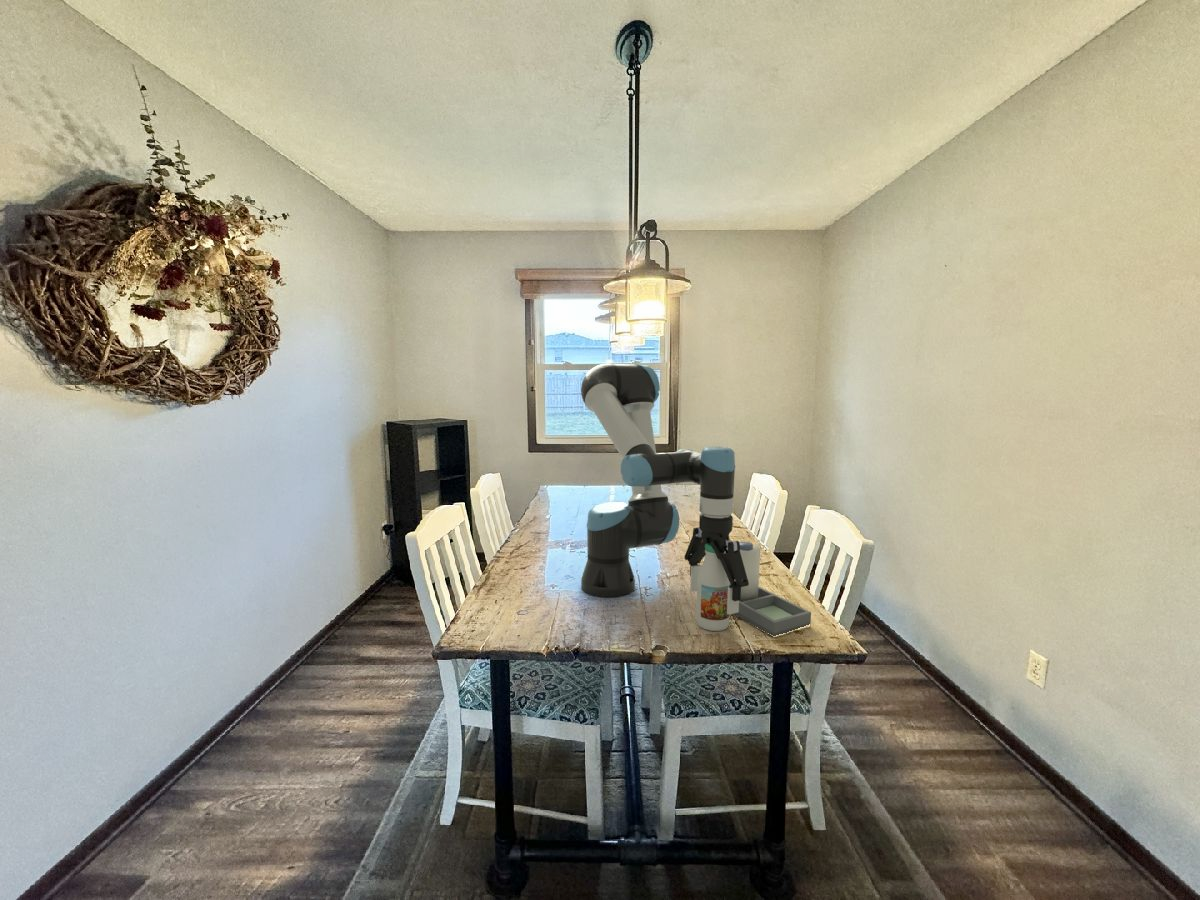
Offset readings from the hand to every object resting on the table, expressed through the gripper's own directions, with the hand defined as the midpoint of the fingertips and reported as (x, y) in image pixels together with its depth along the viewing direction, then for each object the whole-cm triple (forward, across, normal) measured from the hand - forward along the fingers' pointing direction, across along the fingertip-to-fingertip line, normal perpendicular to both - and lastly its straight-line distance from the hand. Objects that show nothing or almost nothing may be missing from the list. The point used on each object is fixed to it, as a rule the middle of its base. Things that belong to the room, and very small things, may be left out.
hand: (713, 601), depth 119 cm
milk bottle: (+6, 0, 0) cm, 6 cm away
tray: (+6, 0, -14) cm, 15 cm away
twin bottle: (+5, +5, -14) cm, 16 cm away
